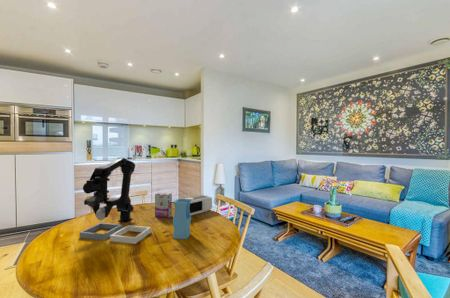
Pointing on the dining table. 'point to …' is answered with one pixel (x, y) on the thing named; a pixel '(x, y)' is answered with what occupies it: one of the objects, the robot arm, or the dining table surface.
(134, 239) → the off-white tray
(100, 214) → the grey rounded lumpy piece
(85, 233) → the grey square frame
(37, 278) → the dining table surface
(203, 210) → the alarm clock
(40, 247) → the dining table surface
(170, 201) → the candy bar box
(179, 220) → the vase
